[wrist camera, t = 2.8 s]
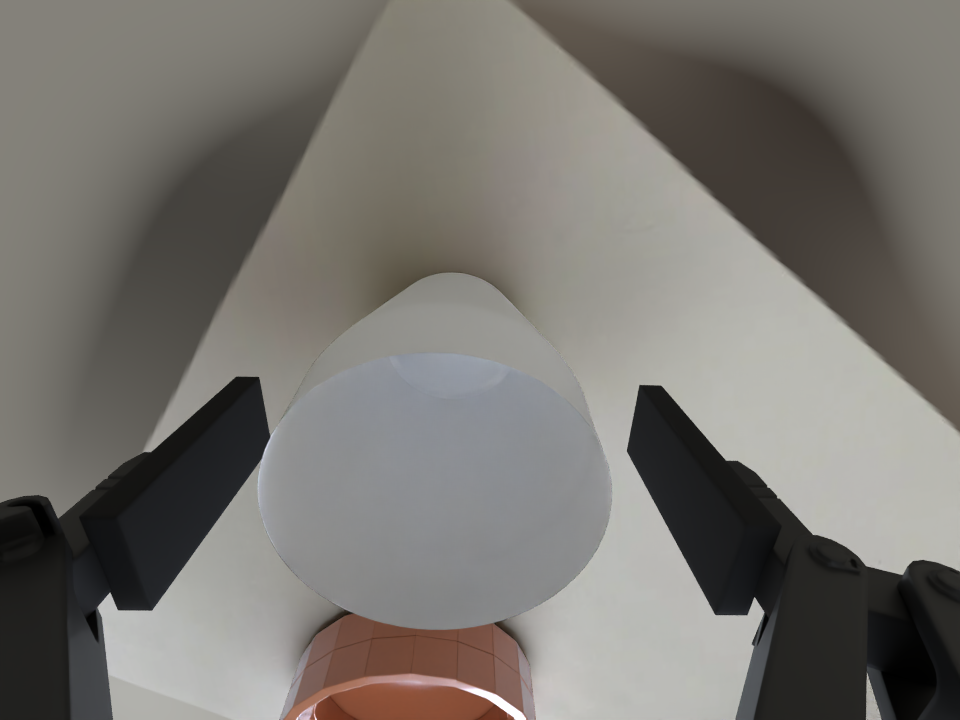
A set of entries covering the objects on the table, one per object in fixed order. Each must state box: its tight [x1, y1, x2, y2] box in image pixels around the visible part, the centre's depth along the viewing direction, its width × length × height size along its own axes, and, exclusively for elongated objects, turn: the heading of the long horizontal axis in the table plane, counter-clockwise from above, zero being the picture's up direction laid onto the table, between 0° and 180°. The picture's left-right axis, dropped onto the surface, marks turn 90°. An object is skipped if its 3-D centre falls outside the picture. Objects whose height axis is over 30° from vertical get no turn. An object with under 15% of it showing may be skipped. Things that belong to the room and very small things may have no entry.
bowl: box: [279, 613, 536, 720], centre depth 30 cm, size 16×16×5 cm
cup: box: [258, 272, 612, 630], centre depth 17 cm, size 9×9×12 cm
